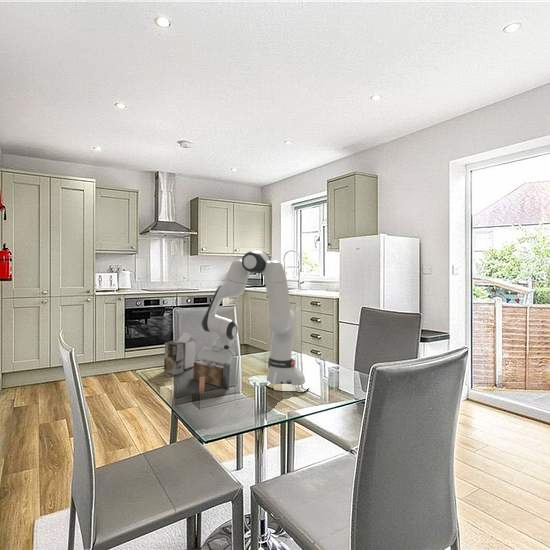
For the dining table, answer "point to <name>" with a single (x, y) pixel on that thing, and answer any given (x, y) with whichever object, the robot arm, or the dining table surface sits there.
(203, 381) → the catch post
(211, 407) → the dining table surface
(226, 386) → the gate post
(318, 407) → the dining table surface
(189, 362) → the milk carton
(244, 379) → the dining table surface
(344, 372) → the dining table surface
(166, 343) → the coffee box
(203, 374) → the gate
